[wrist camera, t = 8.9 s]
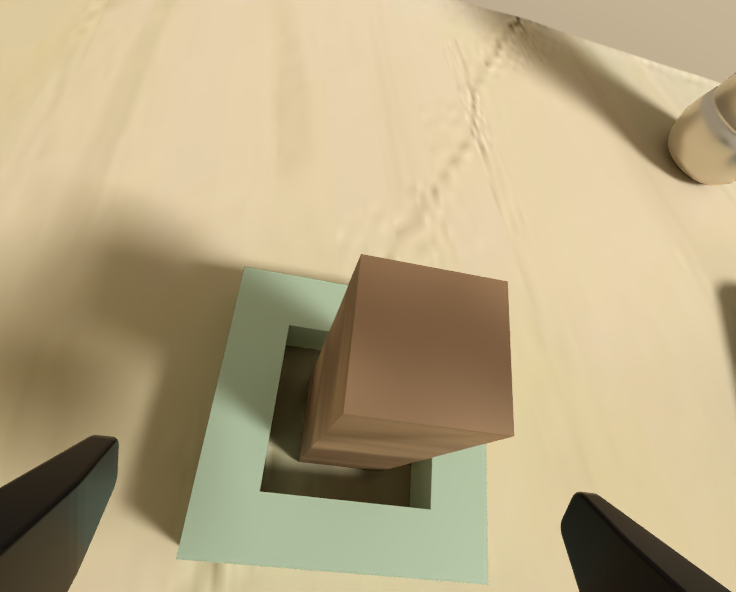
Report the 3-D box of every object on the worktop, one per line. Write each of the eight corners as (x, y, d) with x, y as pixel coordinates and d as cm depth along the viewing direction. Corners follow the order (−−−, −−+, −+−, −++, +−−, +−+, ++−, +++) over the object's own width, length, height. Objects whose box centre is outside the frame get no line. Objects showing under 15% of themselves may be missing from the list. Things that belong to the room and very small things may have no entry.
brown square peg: (380, 471, 22) (513, 436, 11) (297, 461, 22) (343, 413, 10) (386, 388, 24) (507, 281, 12) (310, 377, 23) (360, 254, 12)
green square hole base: (458, 574, 21) (488, 584, 19) (187, 551, 19) (176, 559, 17) (460, 329, 26) (484, 309, 24) (245, 292, 24) (244, 266, 22)
